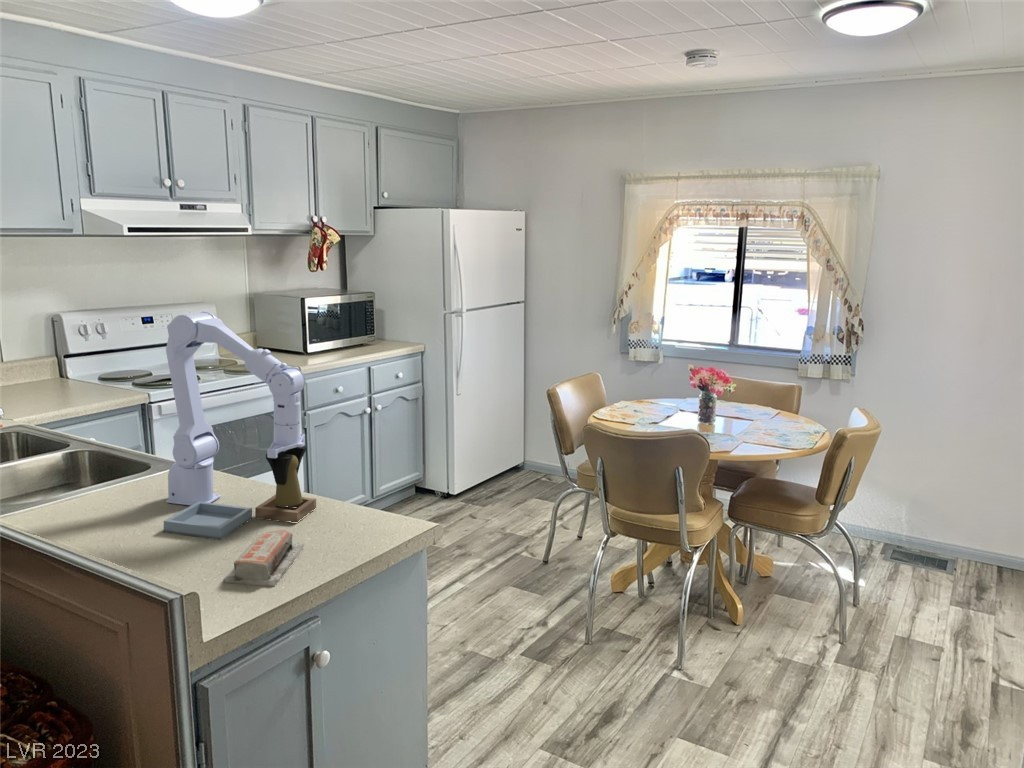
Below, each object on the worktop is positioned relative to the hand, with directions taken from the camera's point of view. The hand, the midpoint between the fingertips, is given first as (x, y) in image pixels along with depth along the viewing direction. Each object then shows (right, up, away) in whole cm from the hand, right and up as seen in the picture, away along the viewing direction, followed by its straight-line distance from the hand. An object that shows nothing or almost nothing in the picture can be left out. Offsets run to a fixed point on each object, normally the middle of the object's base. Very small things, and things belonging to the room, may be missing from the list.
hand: (286, 480), depth 179 cm
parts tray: (-14, -9, -8) cm, 19 cm away
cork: (0, -5, +1) cm, 5 cm away
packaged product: (+4, -14, -26) cm, 29 cm away
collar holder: (0, -8, +1) cm, 8 cm away
